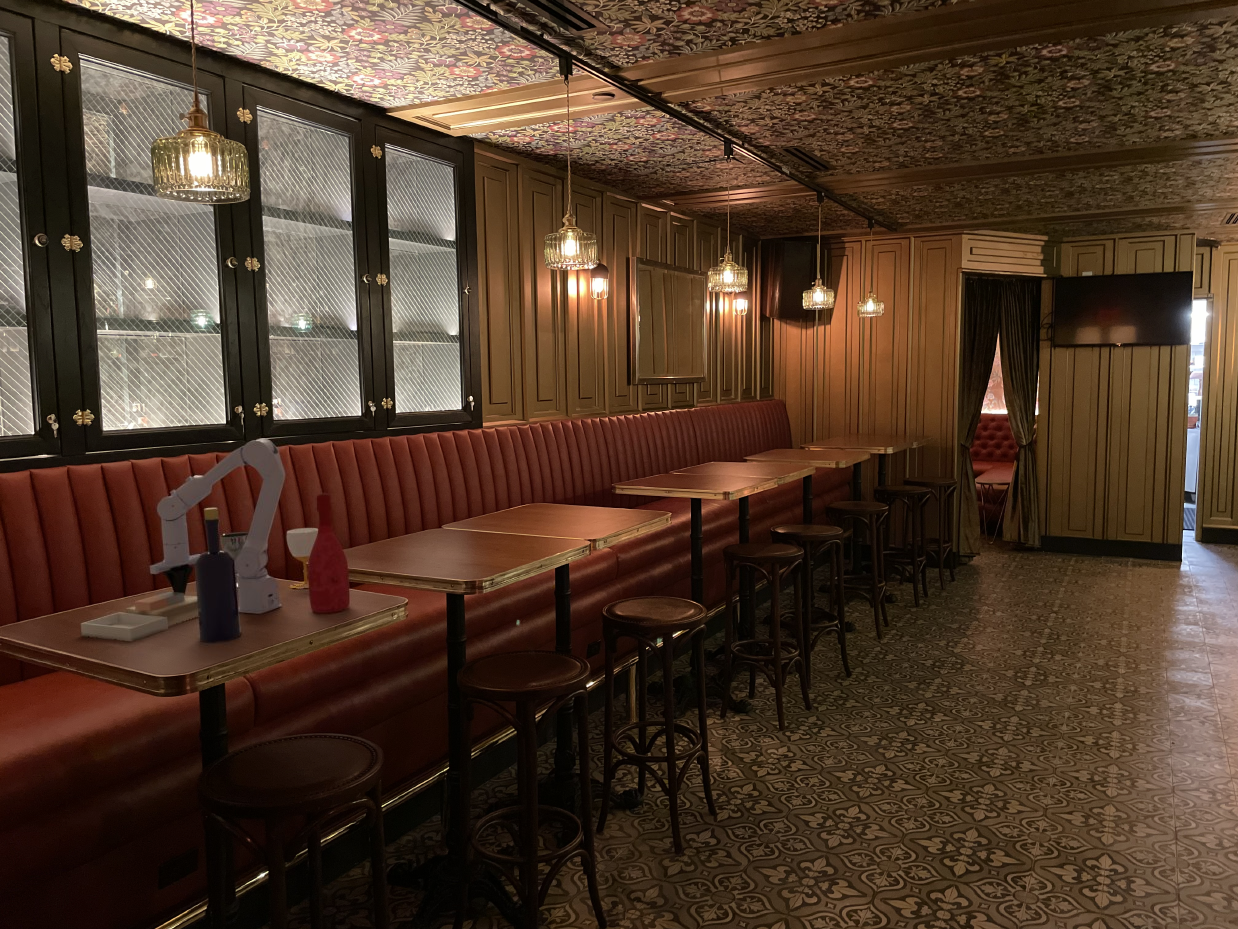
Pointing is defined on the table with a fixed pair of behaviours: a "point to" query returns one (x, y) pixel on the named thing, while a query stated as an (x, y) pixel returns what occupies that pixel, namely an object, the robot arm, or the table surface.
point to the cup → (301, 547)
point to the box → (124, 626)
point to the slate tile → (172, 597)
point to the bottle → (216, 588)
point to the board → (173, 611)
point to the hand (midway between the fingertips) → (180, 595)
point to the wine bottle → (327, 566)
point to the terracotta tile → (151, 603)
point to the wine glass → (234, 543)
